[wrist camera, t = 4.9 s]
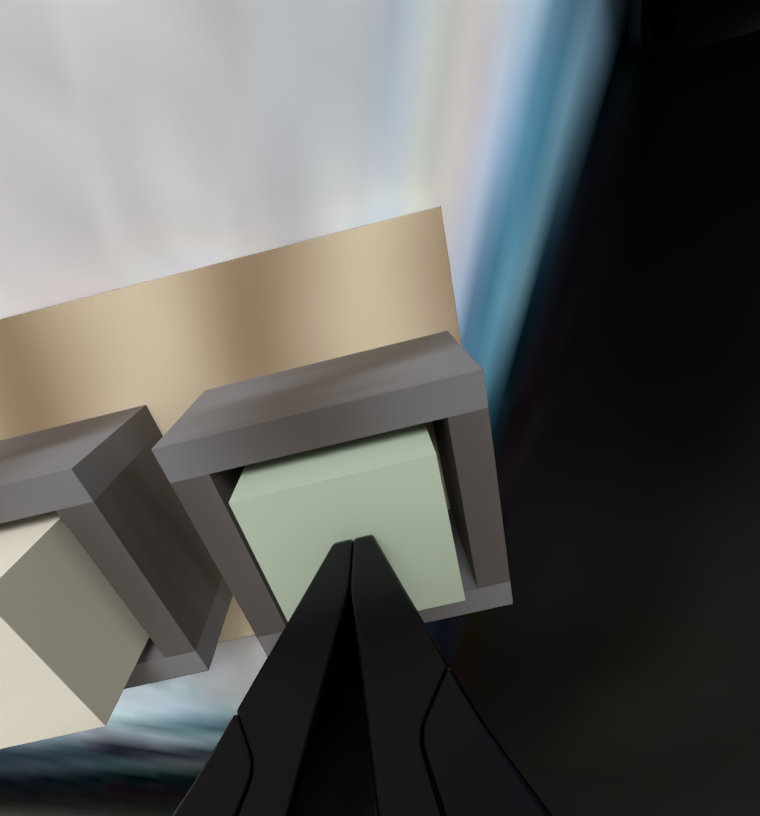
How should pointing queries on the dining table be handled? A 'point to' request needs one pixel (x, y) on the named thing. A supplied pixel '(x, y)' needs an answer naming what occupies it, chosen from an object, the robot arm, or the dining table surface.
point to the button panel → (241, 420)
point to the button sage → (352, 514)
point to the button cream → (58, 634)
